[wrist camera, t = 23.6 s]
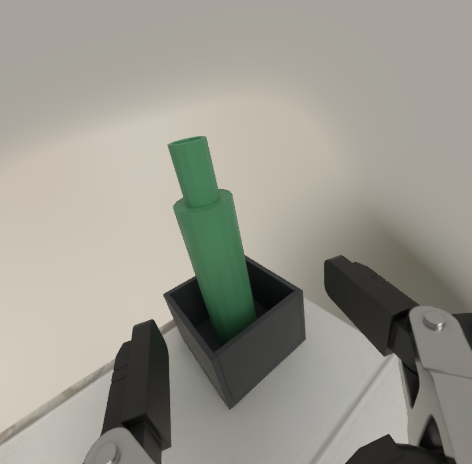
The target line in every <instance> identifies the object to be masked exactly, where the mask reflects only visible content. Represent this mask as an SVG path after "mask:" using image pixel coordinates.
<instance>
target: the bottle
mask: <svg viewBox="0 0 472 464" xmlns="http://www.w3.org/2000/svg"><path fill="white" fill-rule="evenodd" d="M168 148H169V151H170V155H171V158H172V161H173V165H174V168H175V171H176V174H177V178H178V181H179V184H180V187H181V191H182V194H183V198H182V199H180V200H178V201H177V202H176V203H175V204H174V206H173V209H174V212H175V215H176V218H177V221H178V224H179V227H180V230H181V233H182V236H183V239H184V242H185V245H186V248H187V251H188V253H189V257H190V260H191V263H192V266H193V269H194V272H195V275H196V278H197V281H198V284H199V287H200V290H201V293H202V296H203V299H204V301H205V304H206V307H207V310H208V313H209V316H210V319H211V322H212V325H213V328H214V331H215V334H216V337H217V340H218V343H219V345H220V347H222V346H223V345H225V344H226V343H227V342H228V341H230V340H231V339H232V338H234V337H235V336H236V335H238V334H239V333H240V332H242V331H243V330H244V329H245V328H247V327H248V326H249V325H251V324H252V323H253V322H255V321H256V320H257V316H256V311H255V306H254V301H253V296H252V291H251V286H250V281H249V276H248V271H247V266H246V261H245V256H244V251H243V246H242V242H241V236H240V231H239V226H238V221H237V216H236V211H235V206H234V201H233V197H232V193H231V192H230V191H228V190H224V189H218V187H217V182H216V178H215V174H214V169H213V165H212V160H211V156H210V152H209V147H208V143H207V139H206V137H205V136H198V137H192V138H187V139H182V140H179V141H175V142H172V143H170V144H168Z"/></svg>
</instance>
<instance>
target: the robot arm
mask: <svg viewBox="0 0 472 464" xmlns="http://www.w3.org/2000/svg"><path fill="white" fill-rule="evenodd" d="M324 285H325V289H326V292H327V294H328V296H329V297H330V298H331V299H332V300H333V301H334V302H335V304H336V305H337V306H338V307H339V308H340V309H341V310H342V311H343V312H344V314H346V316H347V317H348V318H349V319H350V320H351V321H352V322H353V323H354V324H355V326H356V327H357V328H358V329H359V330H360V331H361V332H362V333H363V334H364V335H365V336H366V338H367V339H368V340H369V341H370V342H371V343H372V344H373V345H374V346H375V347H376V349H377V350H378V351H379V352H380V353H381V354H382V355H383V356H384V357H385V356H387V355H389V354H392V353H395V354H396V355H397V356H398V357H399V361H398V362H399V369H400V374H401V380H402V385H403V391H404V397H405V402H406V408H407V415H408V425H407V430H408V442H409V444H399V443H395V442H394V440H393V439H392V437H391V436H390V435H389V434H388V435H385V436H383V437H381V438H379V439H377V440H375V441H373V442H371V443H369V444H367V445H365V446H363V447H361V448H359V449H358V450H357V451H356V452H355V453H354V455H353V456H352V457H351V458H350V459H349V460H348V461H347V462H346V463H345V464H472V313H462V314H450V313H448V312H446V311H444V310H442V309H439V308H437V307H433V306H426V305H423V306H420V305H419V304H417V303H416V302H414V301H413V300H412V299H411V298H409V297H408V296H406V295H405V294H404V293H402V292H401V291H400V290H398V289H397V288H396V287H394V286H393V285H392V284H390V283H389V282H388V281H387V282H386V281H385V279H383V278H382V277H381V276H380V275H379V276H378V275H377V273H376V272H374V271H373V270H372V269H370V268H369V267H367V266H365V265H362V264H360V263H357V262H354V263H352V262H350V261H349V260H348V259H346V258H345V257H344V256H342V255H339V256H337V257H334V258H331V259H328V260H326V261H325V263H324ZM111 381H112V384H111V386H110V391H109V396H108V402H107V407H106V412H105V418H104V423H103V428H102V432H101V435H100V438H99V439H98V440H97V441H96V442H95V443H94V444H93V445H92V447H91V448H90V450H89V452H88V453H87V455H86V457H85V460H84V462H83V464H161V451H163V450H165V449H168V448H170V447H171V419H170V385H169V355H168V349H167V345H166V343H165V340H164V338H163V336H162V335H161V333H160V331H159V329H158V327H157V325H156V323H155V321H154V320H153V319H152V320H148V321H146V322H143V323H140V324H137V325H135V326H134V327H133V332H132V340H131V341H128V342H125V343H123V345H122V347H121V348H120V350H119V352H118V354H117V356H116V359H115V364H114V372H113V375H112V380H111Z"/></svg>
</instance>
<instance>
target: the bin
mask: <svg viewBox="0 0 472 464" xmlns="http://www.w3.org/2000/svg"><path fill="white" fill-rule="evenodd" d="M244 256H245V255H244ZM245 261H246V266H247V271H248V276H249V281H250V286H251V291H252V296H253V301H254V306H255V311H256V316H257V320H256V321H255V322H253V323H252V324H251V325H249V326H248V327H247V328H245V329H244V330H243V331H242V332H240V333H239V334H238V335H236V336H235V337H234V338H232V339H231V340H230V341H228V342H227V343H226V344H225V345H223V346H222V347H220V345H219V343H218V340H217V337H216V334H215V331H214V328H213V325H212V322H211V319H210V316H209V313H208V310H207V307H206V304H205V301H204V299H203V296H202V293H201V290H200V287H199V284H198V281H197V278H196V276H195V277H193V278H191V279H189V280H187V281H186V282H184V283H182V284H180V285H179V286H177V287H175V288H173V289H172V290H170V291H168V292H166V293H165V294H163V295H164V298H165V300H166V302H167V305H168V307H169V309H170V311H171V314H172V316H173V318H174V321H175V323H176V325H177V327H178V330H179V332H180V334H181V336H182V338H183V340H184V341H185V343H186V344H187V346H188V347H189V349H190V350H191V352H192V353H193V355H194V357H195V358H196V360H197V361H198V363H199V364H200V366H201V367H202V369H203V370H204V372H205V373H206V375H207V376H208V378H209V379H210V381H211V382H212V384H213V386H214V387H215V389H216V390H217V392H218V393H219V395H220V396H221V398H222V399H223V401H224V402H225V404H226V405H227V407H228V408H229V409H231V408H232V407H233V406H234V405H235V404H237V403H238V402H239V401H240V400H241V399H242V398H243V397H244V396H245V395H246V394H247V393H248V392H249V391H251V390H252V389H253V388H254V387H255V386H256V385H257V384H258V383H259V382H260V381H261V380H262V379H263V378H265V377H266V376H267V375H268V374H269V373H270V372H271V371H272V370H273V369H274V368H275V367H276V366H277V365H279V364H280V363H281V362H282V361H283V360H284V359H285V358H286V357H287V356H288V355H289V354H290V353H291V352H293V351H294V350H295V349H296V348H297V347H298V346H299V345H300V344H301V343H302V342H303V341H304V340H305V339H306V337H305V319H304V304H303V291H302V290H301V289H299V288H298V287H296V286H294V285H293V284H291V283H290V282H288V281H286V280H285V279H283V278H281V277H280V276H278V275H276V274H275V273H273V272H271V271H270V270H268V269H266V268H265V267H263V266H262V265H260V264H258V263H257V262H255V261H253V260H252V259H250V258H249V257H247V256H245Z"/></svg>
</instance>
